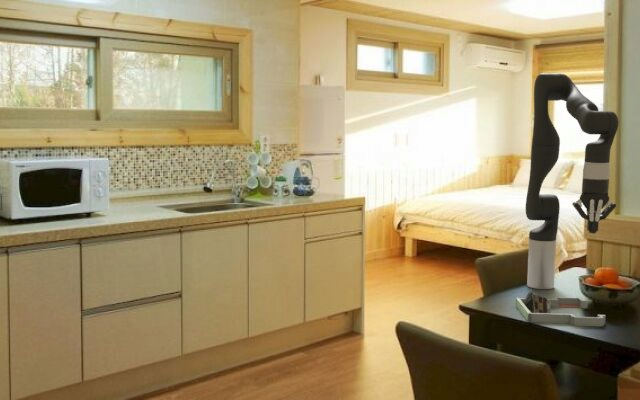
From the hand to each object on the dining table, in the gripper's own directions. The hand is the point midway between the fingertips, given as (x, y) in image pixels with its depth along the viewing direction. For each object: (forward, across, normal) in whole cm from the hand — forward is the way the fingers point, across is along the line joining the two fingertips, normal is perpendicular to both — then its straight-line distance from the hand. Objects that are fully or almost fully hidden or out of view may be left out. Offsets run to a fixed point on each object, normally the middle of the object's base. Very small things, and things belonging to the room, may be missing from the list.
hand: (592, 232), depth 209 cm
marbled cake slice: (+25, +16, +6) cm, 31 cm away
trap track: (+25, +10, +6) cm, 27 cm away
